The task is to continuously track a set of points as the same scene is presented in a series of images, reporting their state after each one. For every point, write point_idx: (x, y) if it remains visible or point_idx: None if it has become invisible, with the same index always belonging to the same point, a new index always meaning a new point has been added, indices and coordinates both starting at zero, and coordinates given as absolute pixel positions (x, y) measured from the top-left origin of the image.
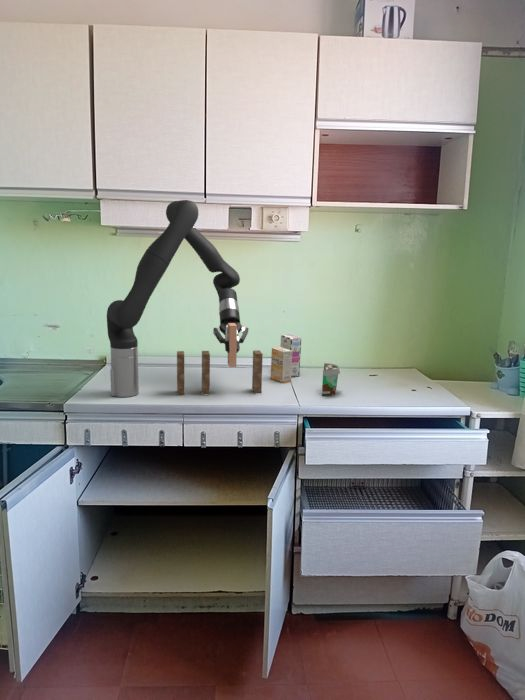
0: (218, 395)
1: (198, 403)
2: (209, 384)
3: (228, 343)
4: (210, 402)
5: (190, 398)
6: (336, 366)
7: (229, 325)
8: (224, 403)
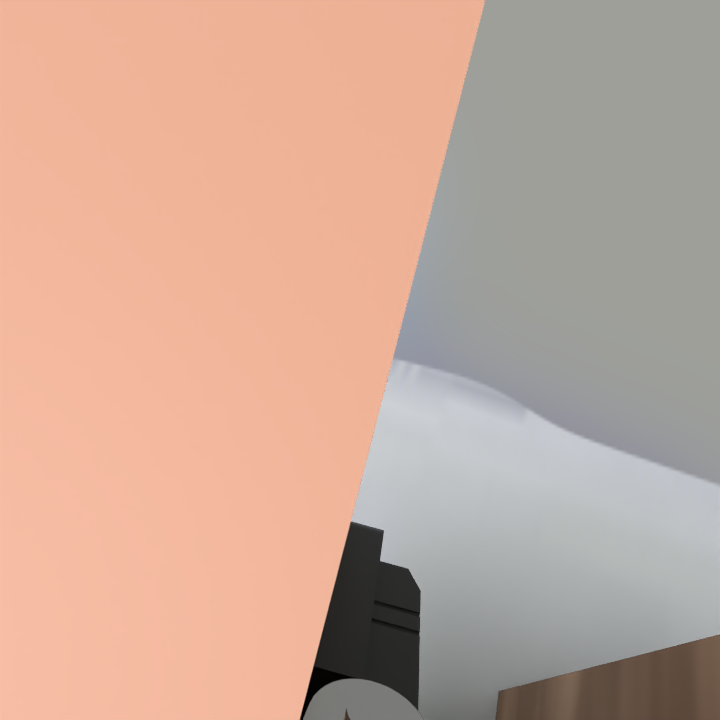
0: (422, 644)
1: (625, 484)
2: (534, 682)
3: (339, 618)
4: (532, 476)
5: (682, 639)
6: None
7: (462, 81)
8: (436, 418)
